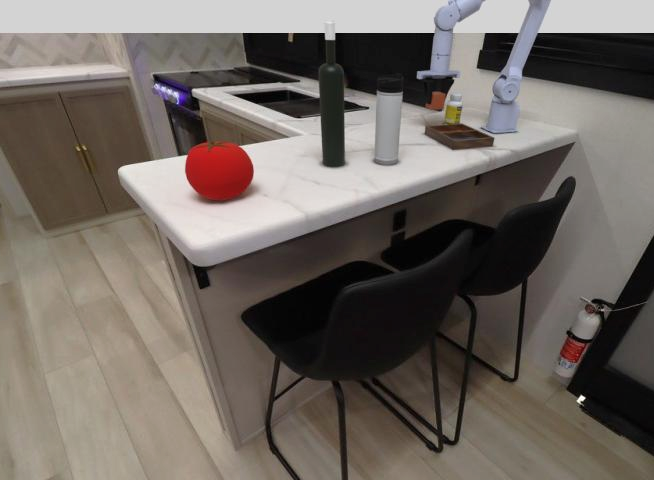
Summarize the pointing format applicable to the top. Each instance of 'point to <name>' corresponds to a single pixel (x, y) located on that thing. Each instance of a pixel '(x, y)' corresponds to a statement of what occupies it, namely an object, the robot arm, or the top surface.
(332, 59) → the wine bottle
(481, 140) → the sorting tray
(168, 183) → the top surface
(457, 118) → the supplement bottle
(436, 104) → the terracotta block
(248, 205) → the top surface
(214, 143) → the tomato
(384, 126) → the travel mug
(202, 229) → the top surface
